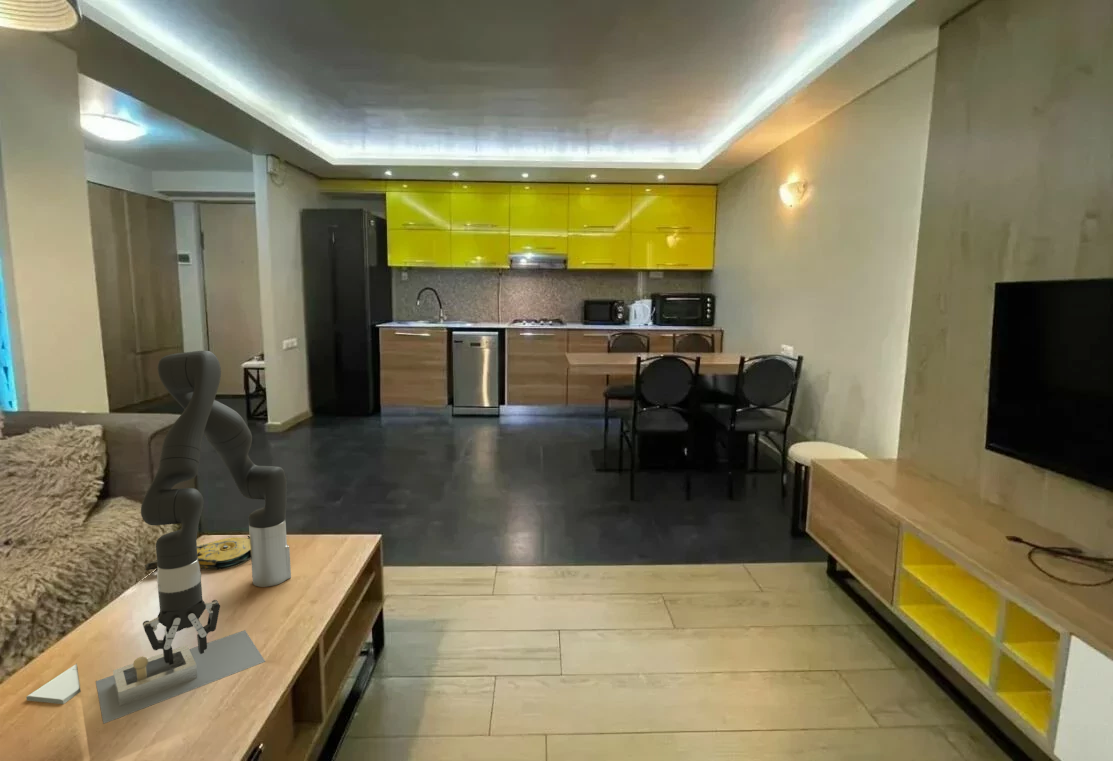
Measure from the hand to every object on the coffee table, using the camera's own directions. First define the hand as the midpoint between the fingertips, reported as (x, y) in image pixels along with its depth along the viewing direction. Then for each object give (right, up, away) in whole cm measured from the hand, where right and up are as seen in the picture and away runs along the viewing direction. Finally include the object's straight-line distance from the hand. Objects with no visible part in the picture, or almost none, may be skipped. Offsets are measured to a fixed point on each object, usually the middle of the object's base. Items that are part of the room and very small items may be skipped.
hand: (186, 657), depth 122 cm
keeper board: (-1, -4, 0) cm, 4 cm away
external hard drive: (-22, -5, -2) cm, 23 cm away
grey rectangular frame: (-4, -3, -3) cm, 6 cm away
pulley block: (-28, +3, +52) cm, 59 cm away
